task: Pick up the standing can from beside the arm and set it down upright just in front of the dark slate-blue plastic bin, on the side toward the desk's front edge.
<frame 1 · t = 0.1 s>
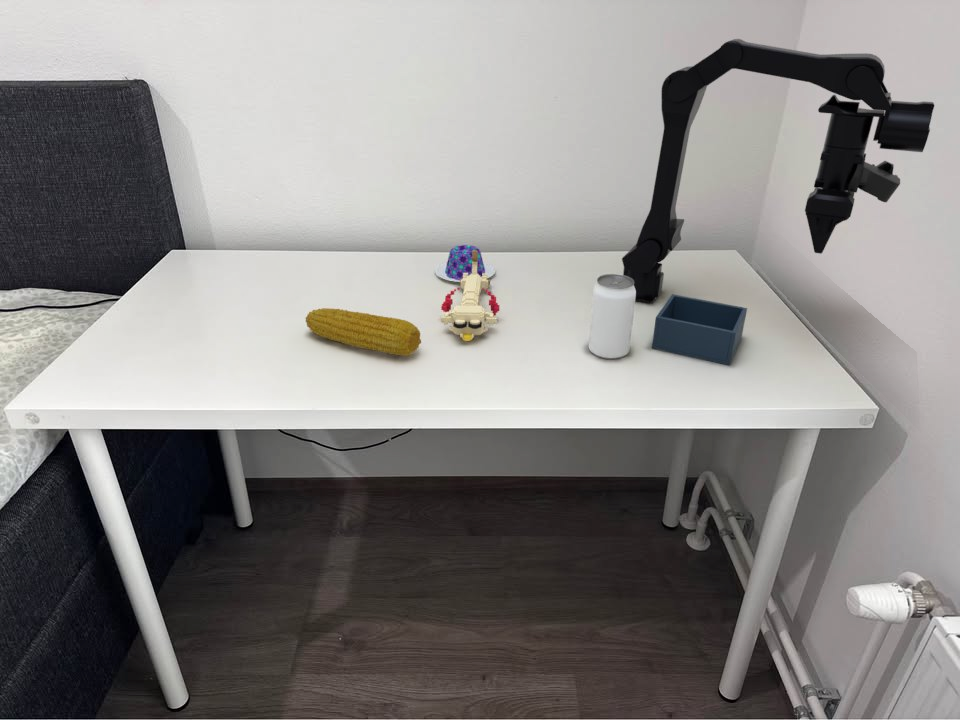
hand: (820, 244, 114), 15 cm above the table, tool pointing down, fingers open, 9 cm apart
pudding: (465, 275, 142), on the table
bin: (697, 343, 115), on the table
can: (608, 351, 113), on the table
cream brick animal figure: (471, 314, 125), on the table
food: (361, 346, 114), on the table
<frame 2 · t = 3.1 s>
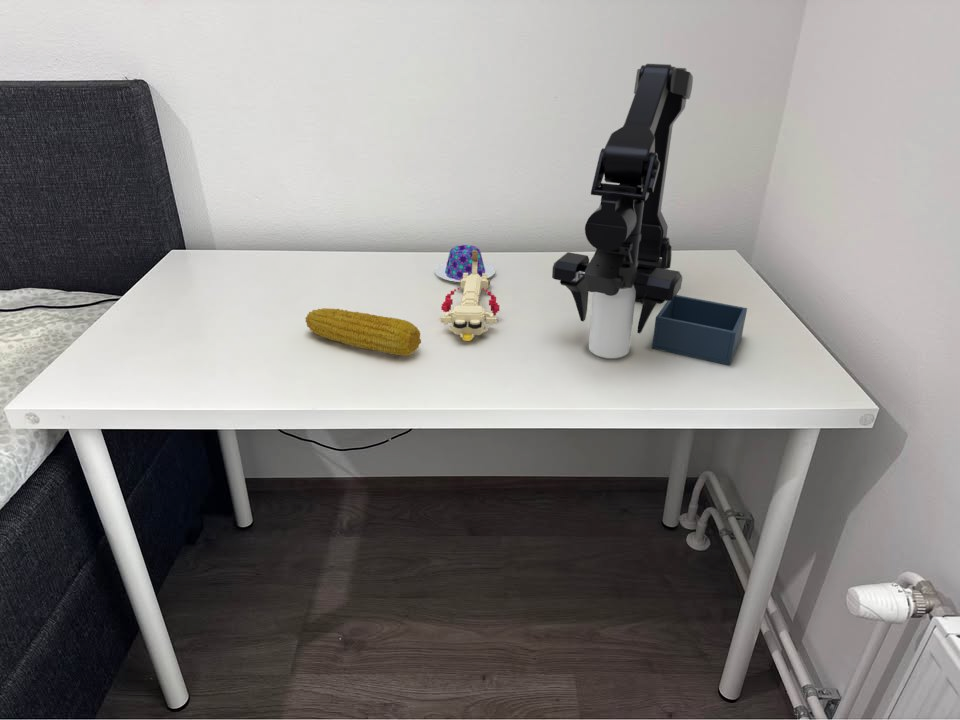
hand: (610, 326, 111), 4 cm above the table, tool pointing down
can: (608, 351, 113), on the table, touching gripper
everything else where it was.
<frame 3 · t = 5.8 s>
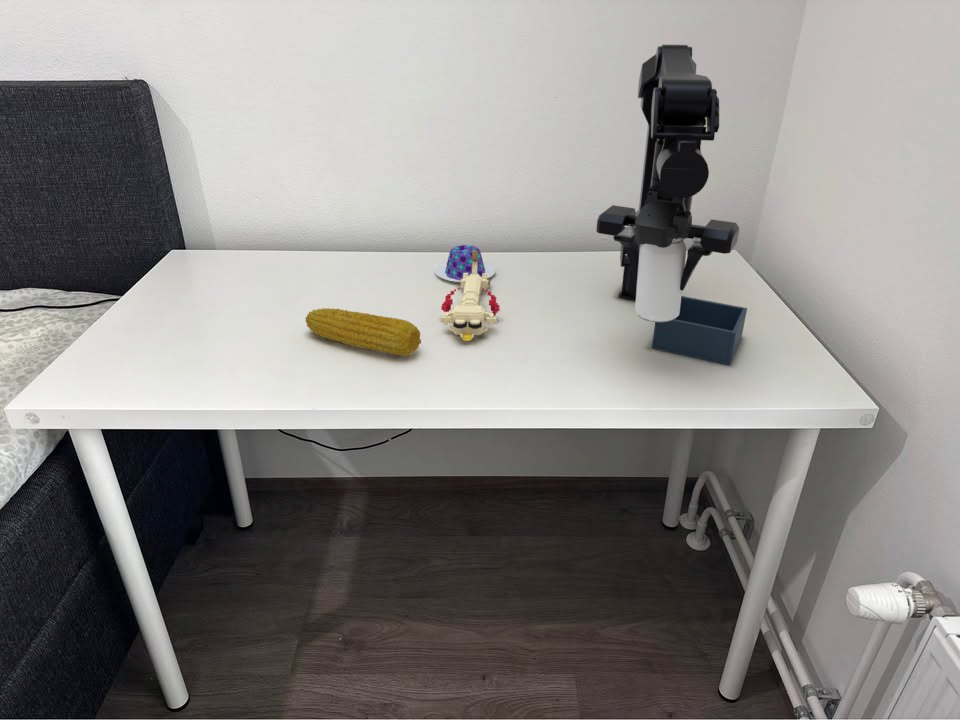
hand: (659, 285, 103), 13 cm above the table, tool pointing down, fingers closed on can, 6 cm apart
can: (656, 315, 105), point 8 cm above the table, touching gripper
everything else where it was.
when the fingers open (5 cm above the table, at t = 8.6 s): can stays where it is, on the table.
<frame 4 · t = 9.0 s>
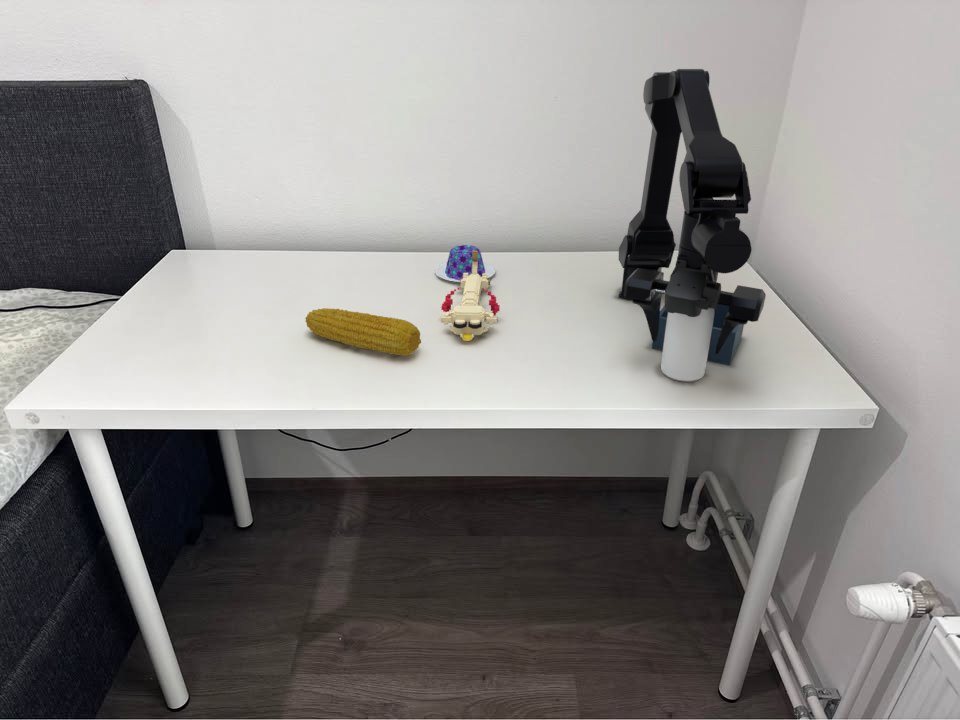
hand: (685, 346, 104), 5 cm above the table, tool pointing down, fingers open, 9 cm apart
can: (682, 373, 107), on the table
everything else where it was.
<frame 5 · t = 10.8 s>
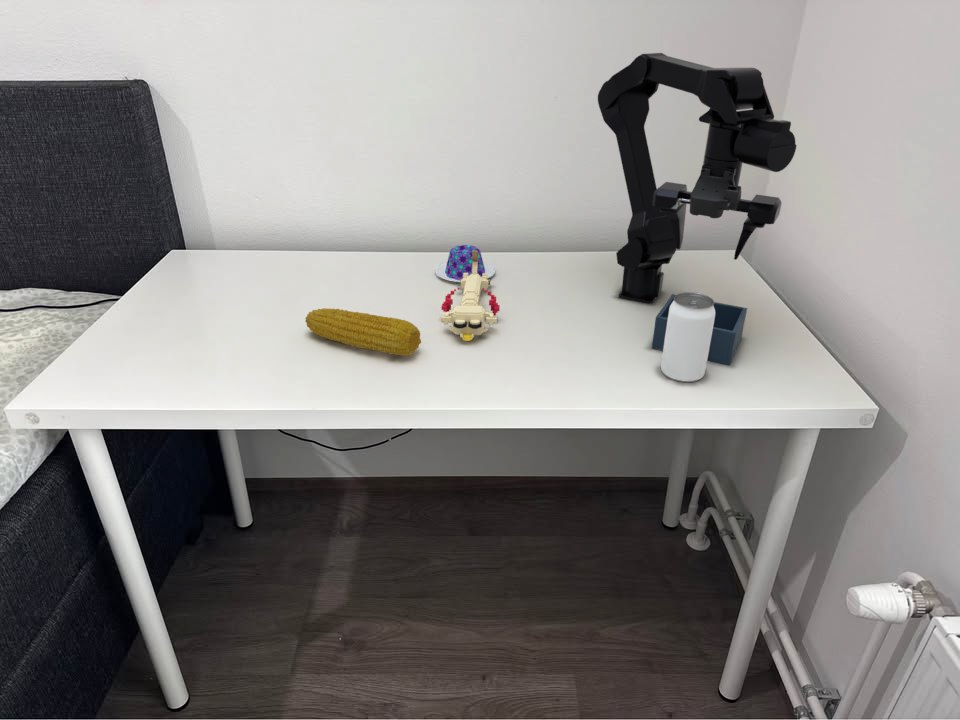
hand: (706, 253, 115), 13 cm above the table, tool pointing down, fingers open, 9 cm apart
nothing on the table moved.
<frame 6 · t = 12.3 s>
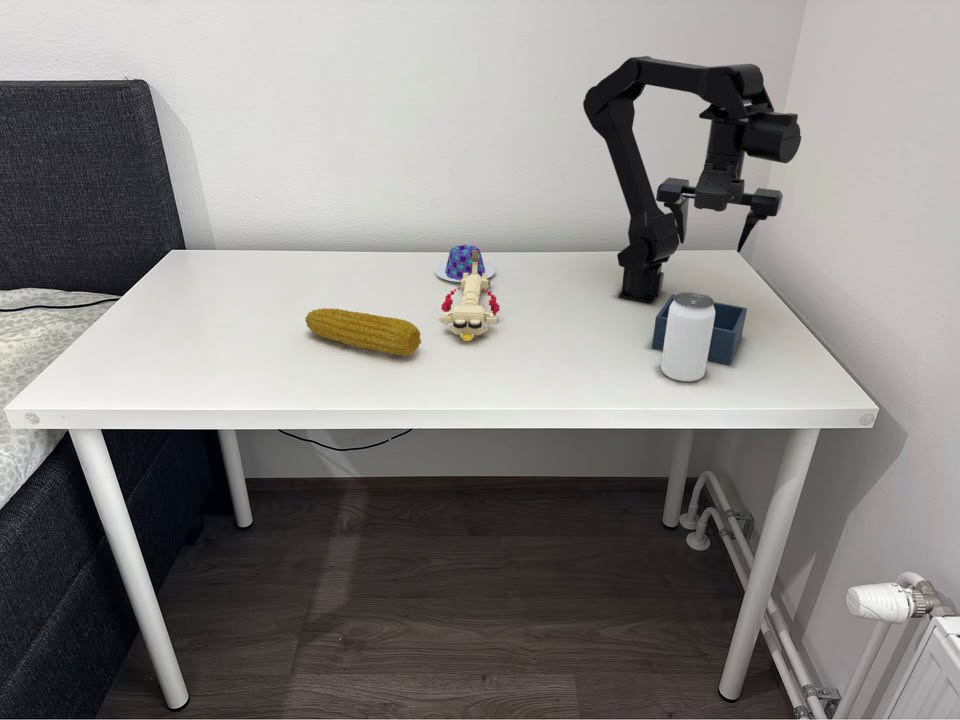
hand: (710, 247, 117), 13 cm above the table, tool pointing down, fingers open, 9 cm apart
nothing on the table moved.
at the end: can inside the target area on the table beside the bin (1.6 cm from its centre), on the table; can tilted 0°; the gripper is holding nothing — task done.
